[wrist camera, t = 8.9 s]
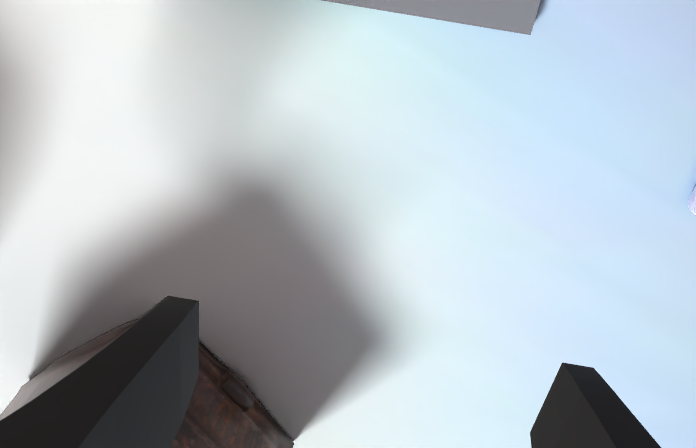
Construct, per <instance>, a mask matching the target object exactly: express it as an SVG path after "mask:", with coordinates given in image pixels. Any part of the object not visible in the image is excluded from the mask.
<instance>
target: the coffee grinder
mask: <svg viewBox="0 0 696 448" xmlns="http://www.w3.org/2000/svg"><path fill="white" fill-rule="evenodd" d="M137 320H139V319H137ZM137 320H134V321H131V322H129V323H126V324H123V325H120V326H119V327H117V328H115V329H113V330H111V331H109V332H107V333H105V334H103V335H101V336H99V337H97V338H95V339H94V340H92V341H90V342H88V343H86V344H84V345H82V346H80V347H78V348H76V349H75V350H73V351H71V352H69V353H67V354H65V355H63V356H61V357H60V358H58V359H56V360H55V361H54V362H53V363H51V364H50V365H49V366H48V367H47V368H45V369H44V370H43V371H42V372H40V373H39V374H38V375H37V376H35V377H34V378H33V379H31V380H30V381H28V382H27V383H26V384H24V385H23V386H22V387H21V388H20V390H19V392H18V393H17V395H16V396H15V397H14V399H13V400H12V401H11V402H10V404H9V405H8V406H7V407H6V409H5V410H4V411H3V412H2V414H1V415H0V420H2V419H3V418H5V417H7V416H8V415H10V414H11V413H13V412H14V411H16V410H17V409H19V408H20V407H22V406H24V405H25V404H27V403H28V402H30V401H31V400H33V399H34V398H36V397H37V396H38V395H40V394H41V393H43V392H44V391H45V390H47V389H48V388H50V387H51V386H53V385H54V384H55V383H57V382H58V381H60V380H61V379H62V378H64V377H65V376H67V375H68V374H70V373H71V372H72V371H74V370H75V369H76V368H78V367H79V366H80V365H82V364H83V363H84V362H86V361H87V360H88V359H90V358H91V357H92V356H93V355H95V354H96V353H97V352H99V351H100V350H101V349H103V348H104V347H105V346H106V345H108V344H109V343H110V342H112V341H113V340H114V339H115V338H117V337H118V336H119V335H120V334H121V333H123V332H124V331H125V330H126V329H128V328H129V327H130V326H131V325H133V324H134V323H135V322H136V321H137ZM293 445H294V443H293V441H292V440H291V439H290V438H289V437H288V436H287V434H286V433H285V432H284V431H283V430H282V429H281V427H280V426H279V425H278V424H277V423H276V422H275V420H274V419H273V418H272V417H271V416H270V415H269V413H268V412H267V411H266V410H265V409H264V407H263V406H262V405H261V404H260V403H259V401H258V400H257V399H256V398H255V396H254V395H253V394H252V393H251V392H250V390H249V389H248V388H247V387H246V386H245V384H244V383H243V382H242V381H241V380H240V379H239V378H238V377H237V376H236V375H235V374H234V373H233V372H232V371H231V370H230V369H229V368H227V367H226V366H224V365H223V364H222V363H221V362H220V361H219V360H217V359H216V358H215V357H214V356H213V355H212V354H211V353H210V352H209V351H208V350H207V349H206V348H205V347H204V346H203V345H202V344H201V343H200V342H199V376H198V379H197V382H196V385H195V388H194V391H193V394H192V396H191V399H190V402H189V405H188V408H187V410H186V413H185V416H184V419H183V422H182V424H181V426H180V428H179V430H178V432H177V435H176V437H175V439H174V441H173V443H172V445H171V447H170V448H293Z"/></svg>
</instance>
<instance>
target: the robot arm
mask: <svg viewBox="0 0 696 448" xmlns="http://www.w3.org/2000/svg"><path fill="white" fill-rule="evenodd" d="M688 208H689V209H690V210H691V211H692V212H693V213H694V215H695V216H696V186H695V188H694V190H693V192H692V194H691V196H690V198H689V200H688ZM198 376H199V301H196V300H190V299H184V298H178V297H172V296H167V297H166V298H164V299H163V300H161V301H160V302H159V303H158V304H157V305H155V306H154V307H153V308H152V309H151V310H149V311H148V312H147V313H146V314H145V315H143V316H142V317H141V318H140V319H139V320H137V321H136V322H135V323H134V324H133V325H131V326H130V327H129V328H128V329H126V330H125V331H124V332H123V333H121V334H120V335H119V336H118V337H117V338H115V339H114V340H113V341H112V342H110V343H109V344H108V345H106V346H105V347H104V348H103V349H101V350H100V351H99V352H97V353H96V354H95V355H93V356H92V357H91V358H90V359H88V360H87V361H86V362H84V363H83V364H82V365H80V366H79V367H78V368H76V369H75V370H74V371H72V372H71V373H70V374H68V375H67V376H65V377H64V378H62V379H61V380H60V381H58V382H57V383H55V384H54V385H53V386H51V387H50V388H48V389H47V390H45V391H44V392H43V393H41V394H40V395H38V396H37V397H36V398H34V399H33V400H31V401H30V402H28V403H27V404H25V405H24V406H22V407H20V408H19V409H17V410H16V411H14V412H13V413H11V414H10V415H8V416H7V417H5V418H3V419H2V420H0V448H170V447H171V445H172V443H173V441H174V439H175V437H176V435H177V432H178V430H179V428H180V426H181V424H182V422H183V419H184V416H185V413H186V410H187V408H188V405H189V402H190V399H191V396H192V394H193V391H194V388H195V385H196V382H197V379H198ZM530 436H531V446H532V448H661V447H660V446H659V445H658V443H657V442H656V441H655V440H654V439H653V438H652V436H651V435H650V434H649V433H648V432H647V430H646V429H645V428H644V427H643V426H642V424H641V423H640V422H639V421H638V420H637V419H636V417H635V416H634V415H633V414H632V413H631V411H630V410H629V409H628V408H627V407H626V405H625V404H624V403H623V402H622V401H621V399H620V398H619V397H618V396H617V395H616V393H615V392H614V391H613V390H612V389H611V387H610V386H609V385H608V384H607V383H606V382H605V380H604V379H603V378H602V377H601V376H600V375H599V374H598V372H597V371H596V370H595V369H594V368H591V367H585V366H579V365H573V364H568V363H562V364H561V367H560V369H559V371H558V373H557V375H556V377H555V380H554V382H553V384H552V386H551V388H550V390H549V393H548V395H547V397H546V399H545V401H544V403H543V406H542V408H541V410H540V412H539V414H538V417H537V419H536V421H535V423H534V425H533V427H532V430H531V432H530Z"/></svg>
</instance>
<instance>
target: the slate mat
mask: <svg viewBox="0 0 696 448" xmlns="http://www.w3.org/2000/svg"><path fill="white" fill-rule="evenodd" d="M323 1H329V2H335V3H341V4H347V5H353V6H359V7H365V8H371V9H377V10H383V11H389V12H395V13H401V14H407V15H413V16H419V17H426V18H432V19H438V20H444V21H450V22H456V23H462V24H468V25H474V26H480V27H486V28H492V29H498V30H504V31H510V32H516V33H522V34H528V35H531V31H532V28H533V25H534V21H535V18H536V15H537V11H538V8H539V4H540V1H541V0H323Z"/></svg>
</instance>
